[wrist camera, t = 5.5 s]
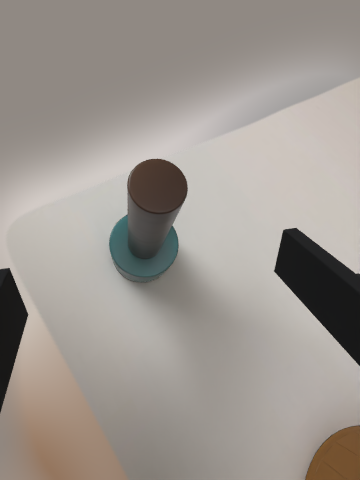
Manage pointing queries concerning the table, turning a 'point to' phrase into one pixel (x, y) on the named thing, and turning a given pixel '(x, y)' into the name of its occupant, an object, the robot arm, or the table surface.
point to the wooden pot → (338, 457)
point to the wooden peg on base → (149, 221)
